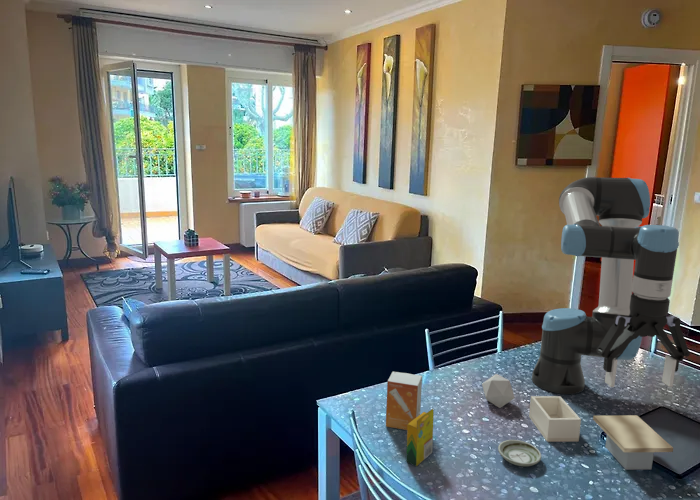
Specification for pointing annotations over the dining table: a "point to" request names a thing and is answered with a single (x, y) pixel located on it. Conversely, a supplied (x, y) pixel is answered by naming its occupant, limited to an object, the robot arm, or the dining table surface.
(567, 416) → the open beige tray
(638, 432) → the sheet
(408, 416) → the small box
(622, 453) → the grey rectangular block
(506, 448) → the saucer
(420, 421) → the crayon box
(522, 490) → the dining table surface
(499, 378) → the die
